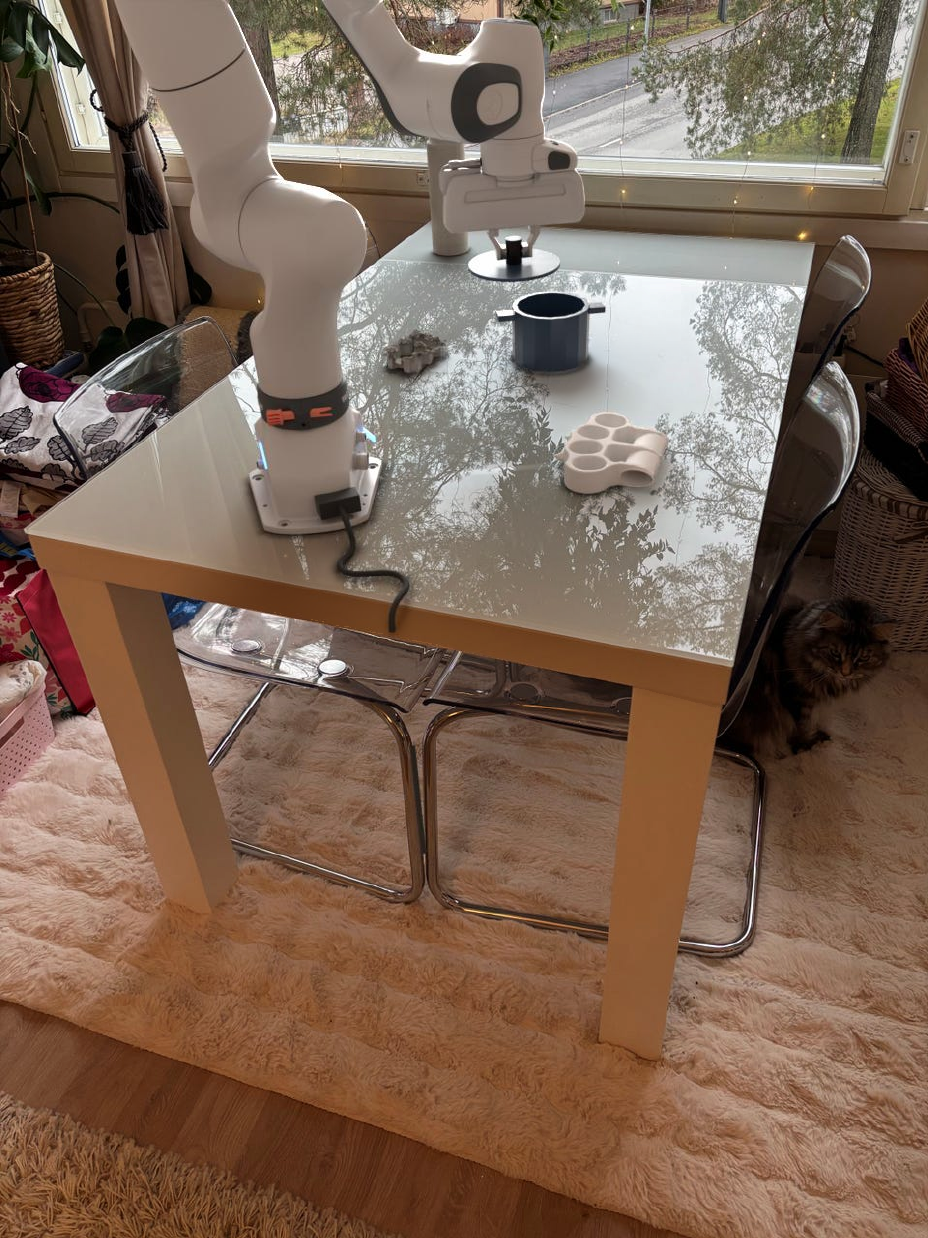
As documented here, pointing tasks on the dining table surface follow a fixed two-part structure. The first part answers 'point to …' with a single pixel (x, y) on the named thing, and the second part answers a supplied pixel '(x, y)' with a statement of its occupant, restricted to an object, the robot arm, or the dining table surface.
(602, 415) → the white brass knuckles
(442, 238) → the thermos bottle
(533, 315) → the pot
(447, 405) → the dining table surface
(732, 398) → the dining table surface
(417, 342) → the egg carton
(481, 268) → the lid
